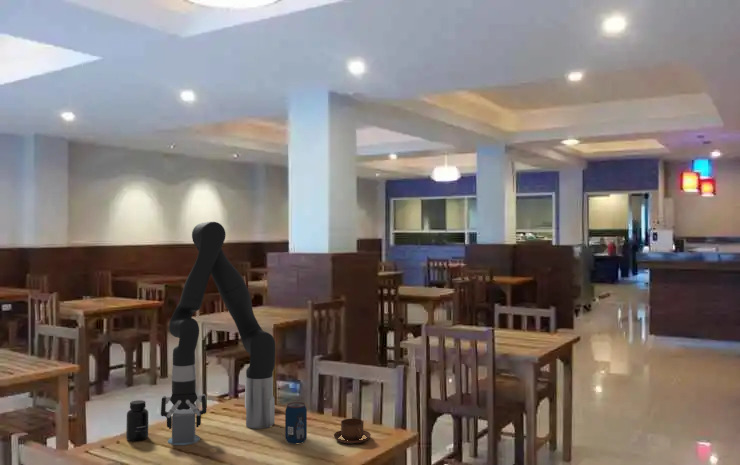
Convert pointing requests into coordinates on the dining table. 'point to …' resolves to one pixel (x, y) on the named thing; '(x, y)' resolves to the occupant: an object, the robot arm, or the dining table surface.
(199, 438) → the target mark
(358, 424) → the rectangular block and saucer
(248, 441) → the dining table surface
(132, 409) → the supplement bottle
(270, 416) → the robot arm
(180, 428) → the rectangular block
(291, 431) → the soda can
